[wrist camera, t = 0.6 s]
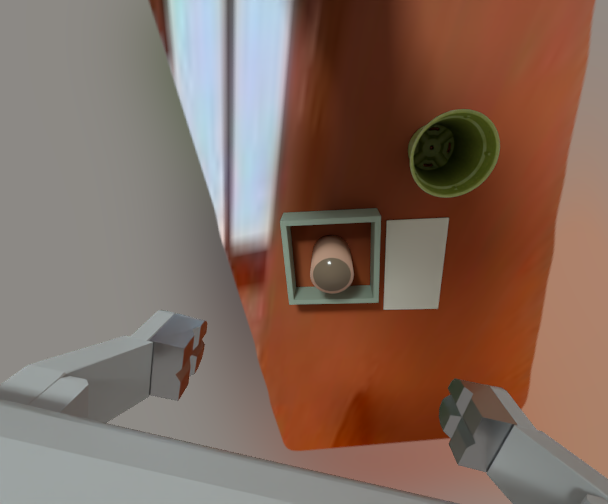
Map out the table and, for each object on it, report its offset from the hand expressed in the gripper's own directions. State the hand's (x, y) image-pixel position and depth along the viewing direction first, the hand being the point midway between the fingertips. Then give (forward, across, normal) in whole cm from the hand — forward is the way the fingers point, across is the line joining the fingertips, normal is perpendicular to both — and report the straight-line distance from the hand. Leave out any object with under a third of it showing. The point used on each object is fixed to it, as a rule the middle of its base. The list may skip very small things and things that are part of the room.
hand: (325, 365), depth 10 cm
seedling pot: (+38, -3, +8) cm, 39 cm away
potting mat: (+38, -16, +7) cm, 42 cm away
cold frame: (+38, -3, +8) cm, 39 cm away
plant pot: (+37, -12, -10) cm, 40 cm away
